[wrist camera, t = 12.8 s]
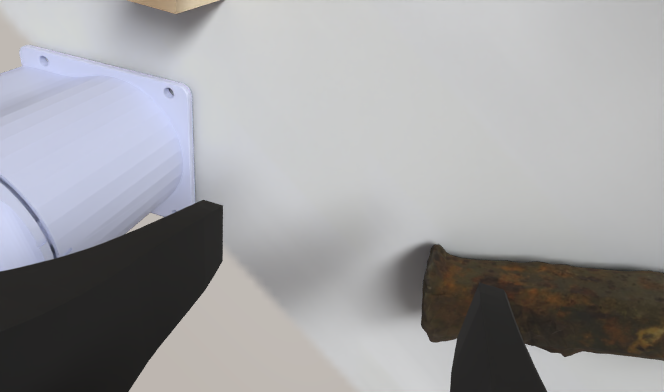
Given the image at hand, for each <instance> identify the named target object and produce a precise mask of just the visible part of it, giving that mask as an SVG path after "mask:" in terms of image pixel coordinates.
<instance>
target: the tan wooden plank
mask: <svg viewBox="0 0 664 392" xmlns="http://www.w3.org/2000/svg"><path fill="white" fill-rule="evenodd" d="M128 1H131V2H135V3H139V4H142V5H146V6H149V7H153V8H156V9H160V10H163V11H167V12H170V13H174V14H178V13H181V12H184V11H187V10H190V9H193V8H197V7H200V6H203V5H206V4H209V3H212V2H215V1H219V0H128Z"/></svg>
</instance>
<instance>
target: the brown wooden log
mask: <svg viewBox="0 0 664 392" xmlns="http://www.w3.org/2000/svg"><path fill="white" fill-rule="evenodd" d="M479 282H480V283H483V284H486V285H490V286H493V287H496V288H500V289H503V290H504V291H505V293H506V294H507V298H508V301H509V304H510V307H511V309H512V312H513V315H514V318H515V321H516V323H517V326H518V328H519V331H520V334H521V336H522V338H523V341H524V343H525V344H528V345H531V346H536V347H539V348H542V349H544V350H547V351H549V352H551V353H561V354H562V355H563V356H564V357H567V356H571V355H573V354H575V353H578V352H582V351H586V352H593V353H600V354H614V355H623V356H632V357H641V358H647V359H656V360H663V361H664V273H661V272H653V271H616V270H605V269H594V268H582V267H574V266H570V265H563V264H548V263H543V262H526V263H518V262H512V261H490V260H477V259H467V258H459V257H456V256H453V255H450V254H448V253H447V252H446V251H445V250H444V249H443V247H442V246H440V245H434V246H433V247H432V248H431V250H430V256H429V259H428V263H427V268H426V271H425V276H424V280H423V298H422V320H421V326H422V328H423V329H424V331H425V332H426V333H427V335H428V337H429V340H430V341H431V342H440V341H449V340H453V339H456V338H457V337H458V335H459V332H460V330H461V327H462V325H463V322H464V320H465V317H466V315H467V312H468V310H469V307H470V305H471V302H472V300H473V297H474V295H475V292H476V290H477V287H478V285H479Z"/></svg>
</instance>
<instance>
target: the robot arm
mask: <svg viewBox="0 0 664 392" xmlns="http://www.w3.org/2000/svg"><path fill="white" fill-rule="evenodd" d="M20 58H21V63H22V66H21V67H18V68H15V69H12V70H9V71H6V72H3V73H0V392H128V391H129V390H130V388H131V387H132V385H133V384H134V382H135V381H136V379H137V378H138V376H139V375H140V373H141V372H142V370H143V369H144V367H145V365H146V364H147V362H148V361H149V360H150V358H151V357H152V356H153V354H154V353H155V352H156V350H157V349H158V348H159V346H160V345H161V344H162V343H163V342H164V340H165V339H166V338H167V337H168V335H169V334H170V333H171V332H172V330H173V329H174V328H175V327H176V326H177V324H178V323H179V322H180V321H181V319H182V318H183V317H184V316H185V315H186V313H187V312H188V311H189V310H190V308H191V307H192V306H193V304H194V303H195V302H196V301H197V300H198V298H199V297H200V296H201V294H202V293H203V292H204V291H205V289H206V288H207V286H208V284H209V283H210V281H211V280H212V278H213V276H214V275H215V273H216V271H217V269H218V268H219V266H220V264H221V263H222V254H223V206H222V205H219V204H215V203H212V202H209V201H205V200H202V201H200V202H197V203H195V176H194V145H193V114H192V94H191V91H190V89H189V87H188V86H187V85H185V84H183V83H180V82H176V81H172V80H168V79H164V78H160V77H156V76H152V75H148V74H144V73H140V72H136V71H132V70H128V69H124V68H120V67H116V66H112V65H108V64H104V63H100V62H96V61H92V60H88V59H84V58H80V57H76V56H73V55H69V54H65V53H61V52H57V51H53V50H49V49H45V48H41V47H37V46H33V45H26V46H23V47H21V48H20ZM46 58H47V60H48V61H47V60H46ZM169 88H170V89H172V91H173V93H174V96H173V95H172V94H171V93H170V92H169ZM176 210H177V211H176ZM149 213H153V214H157V215H160V216H163V217H164V218H162V219H160V220H157V221H155V222H153V223H151V224H148V225H146V226H144V227H142V228H140V229H137V230H135V231H132V232H129V233H127V232H128V231H129V230H130V229H131V228H133V227H134V226H135V225H136V224H137V223H138V222H140V221H141V220H142V219H143V218H144V217H145V216H147V215H148V214H149ZM126 233H127V234H126ZM450 392H547V390H546V388H545V386H544V384H543V382H542V380H541V378H540V376H539V374H538V372H537V370H536V368H535V366H534V364H533V361H532V359H531V357H530V355H529V352H528V350H527V348H526V346H525V343H524V341H523V338H522V336H521V334H520V331H519V328H518V326H517V323H516V321H515V318H514V315H513V312H512V309H511V307H510V304H509V301H508V298H507V294H506V293H505V291H504V290H503V289H500V288H496V287H493V286H490V285H486V284H483V283H480V282H479V285H478V287H477V290H476V292H475V295H474V297H473V300H472V302H471V305H470V307H469V310H468V312H467V315H466V317H465V320H464V322H463V325H462V327H461V330H460V332H459V335H458V337H457V343H456V348H455V354H454V360H453V366H452V372H451V387H450Z"/></svg>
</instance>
